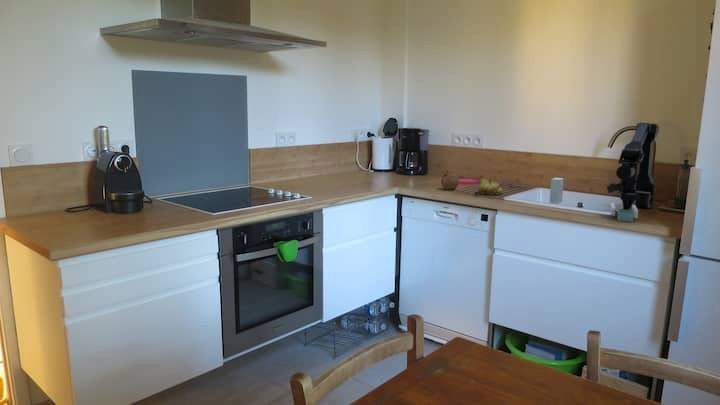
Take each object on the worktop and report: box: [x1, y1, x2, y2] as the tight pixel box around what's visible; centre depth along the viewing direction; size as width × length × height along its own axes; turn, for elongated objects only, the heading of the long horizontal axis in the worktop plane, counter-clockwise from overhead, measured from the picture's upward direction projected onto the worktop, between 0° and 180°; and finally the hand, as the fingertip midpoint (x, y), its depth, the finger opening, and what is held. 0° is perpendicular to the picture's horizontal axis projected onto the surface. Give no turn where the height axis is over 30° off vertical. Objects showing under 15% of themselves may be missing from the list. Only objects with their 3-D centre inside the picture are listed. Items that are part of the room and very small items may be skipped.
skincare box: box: [548, 177, 565, 205], centre depth 251 cm, size 6×4×12 cm
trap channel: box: [609, 202, 639, 219], centre depth 230 cm, size 15×10×3 cm, turn 157°
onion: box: [440, 173, 459, 191], centre depth 284 cm, size 10×9×10 cm
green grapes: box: [477, 177, 503, 196], centre depth 272 cm, size 13×10×8 cm
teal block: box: [616, 208, 634, 223], centre depth 219 cm, size 6×6×4 cm
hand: (625, 212), depth 223 cm, fingers closed
